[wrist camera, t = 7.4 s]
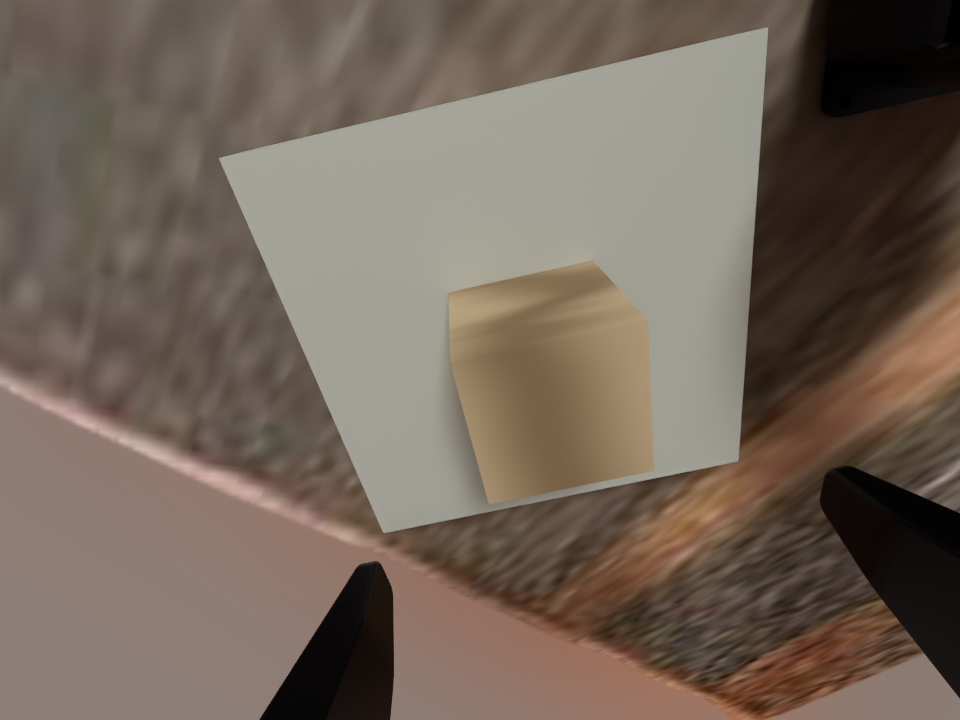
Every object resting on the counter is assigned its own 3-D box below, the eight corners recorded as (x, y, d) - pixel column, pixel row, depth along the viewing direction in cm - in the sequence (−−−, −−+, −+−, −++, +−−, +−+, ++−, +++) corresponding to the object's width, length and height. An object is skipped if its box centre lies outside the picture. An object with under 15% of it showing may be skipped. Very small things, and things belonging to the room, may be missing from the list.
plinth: (715, 39, 16) (768, 27, 13) (705, 421, 24) (738, 461, 21) (254, 149, 17) (218, 158, 14) (390, 486, 24) (383, 533, 22)
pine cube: (592, 260, 16) (647, 319, 12) (604, 383, 19) (654, 470, 14) (448, 292, 16) (449, 361, 12) (478, 410, 19) (489, 504, 14)
